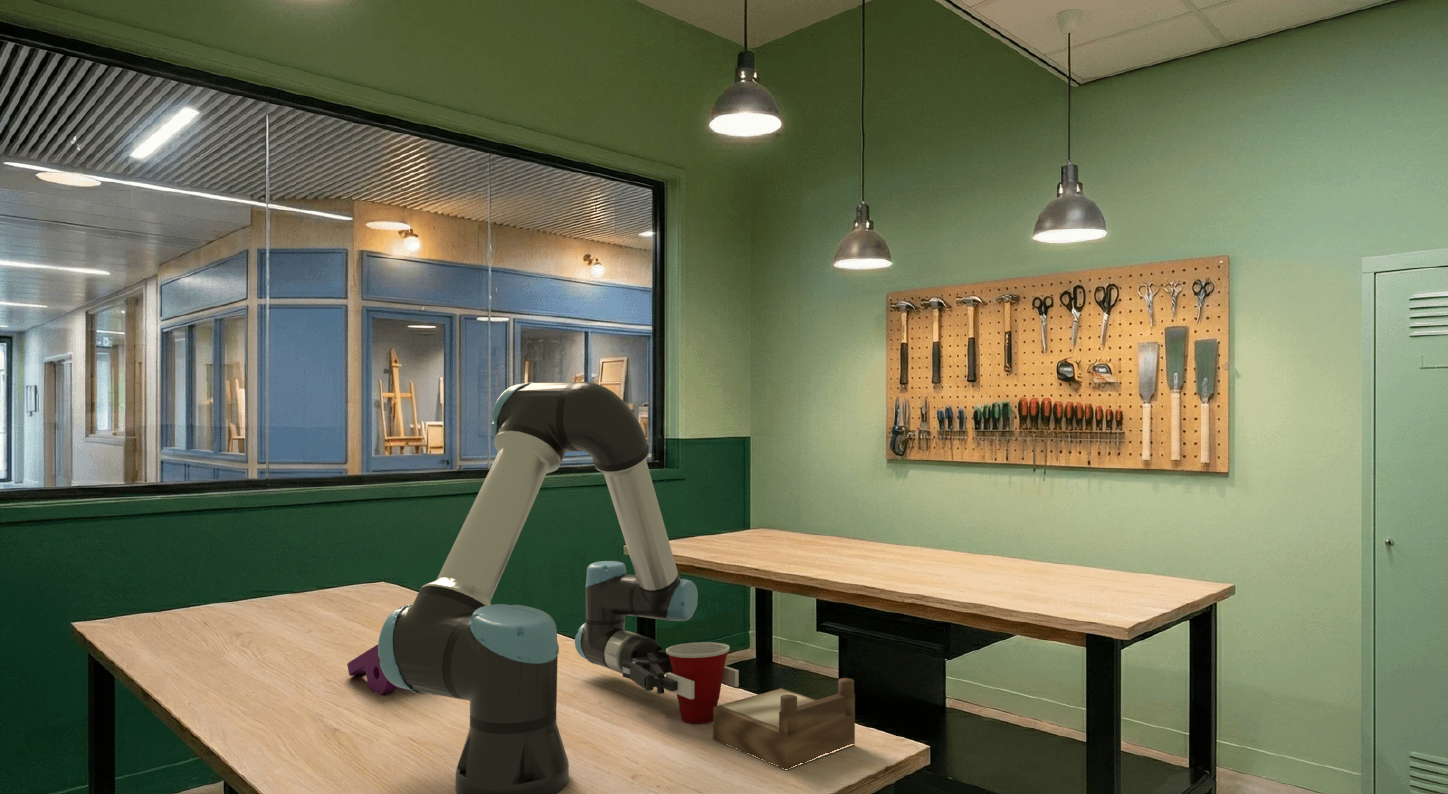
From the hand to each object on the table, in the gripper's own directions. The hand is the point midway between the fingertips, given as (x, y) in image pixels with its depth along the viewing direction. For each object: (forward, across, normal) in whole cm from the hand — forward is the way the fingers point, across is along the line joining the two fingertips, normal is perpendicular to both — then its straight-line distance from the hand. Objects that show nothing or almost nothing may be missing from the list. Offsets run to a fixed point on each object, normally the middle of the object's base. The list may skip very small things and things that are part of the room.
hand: (715, 684), depth 145 cm
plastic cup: (-5, 0, -7) cm, 8 cm away
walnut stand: (+13, -3, -7) cm, 15 cm away
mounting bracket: (-58, +32, -7) cm, 66 cm away
